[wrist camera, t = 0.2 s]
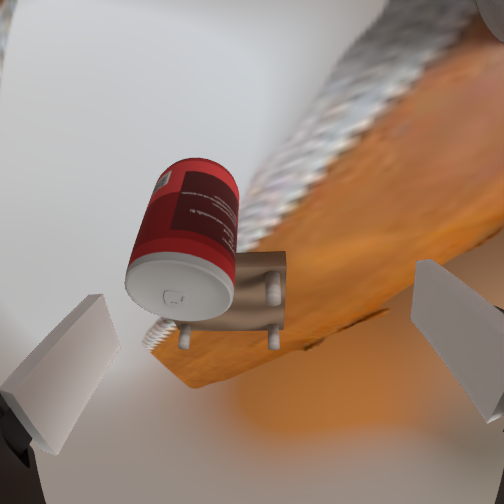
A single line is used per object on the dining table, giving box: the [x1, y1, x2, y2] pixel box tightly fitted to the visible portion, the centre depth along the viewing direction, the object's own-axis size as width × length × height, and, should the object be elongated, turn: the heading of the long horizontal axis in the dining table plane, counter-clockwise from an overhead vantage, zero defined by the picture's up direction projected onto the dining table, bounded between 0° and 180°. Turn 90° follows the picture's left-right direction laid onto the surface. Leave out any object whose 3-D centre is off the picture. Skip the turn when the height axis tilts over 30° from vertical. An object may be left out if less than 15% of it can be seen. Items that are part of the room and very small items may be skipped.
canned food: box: [125, 158, 239, 321], centre depth 24 cm, size 8×8×11 cm
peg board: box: [173, 252, 286, 350], centre depth 38 cm, size 16×16×6 cm
